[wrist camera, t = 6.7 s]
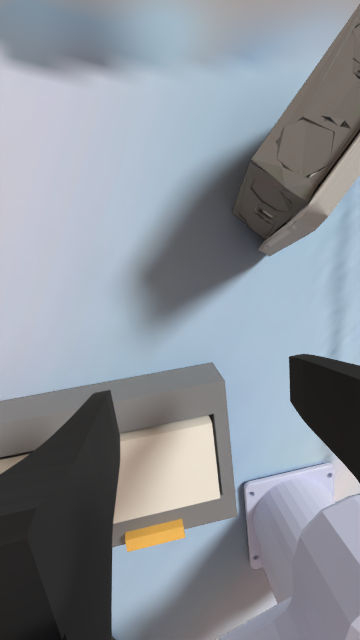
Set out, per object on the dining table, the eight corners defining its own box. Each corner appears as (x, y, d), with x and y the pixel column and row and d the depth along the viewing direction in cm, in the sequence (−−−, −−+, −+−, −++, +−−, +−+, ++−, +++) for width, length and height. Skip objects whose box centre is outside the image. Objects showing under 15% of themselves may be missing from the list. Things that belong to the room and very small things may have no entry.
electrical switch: (264, 259, 20) (351, 256, 11) (205, 212, 20) (247, 168, 10) (352, 140, 19) (525, 32, 10) (293, 85, 19) (426, -86, 9)
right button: (212, 476, 22) (220, 498, 20) (82, 506, 21) (77, 532, 19) (204, 406, 21) (212, 423, 19) (63, 434, 20) (56, 455, 18)
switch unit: (224, 484, 25) (240, 523, 21) (-76, 554, 22) (-115, 612, 18) (212, 362, 22) (227, 385, 18) (-137, 426, 19) (-196, 466, 16)
